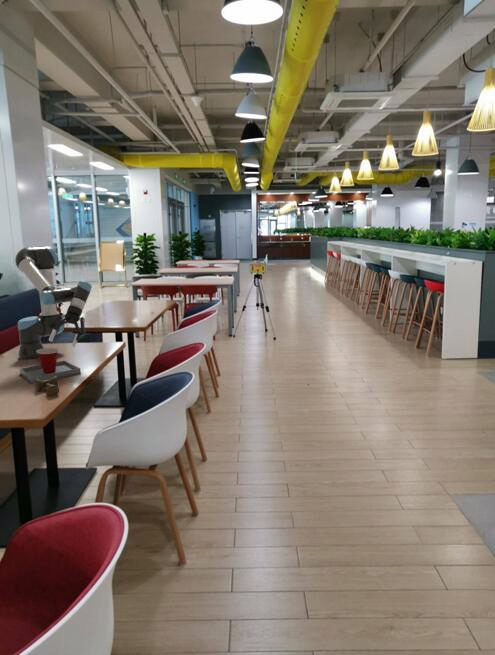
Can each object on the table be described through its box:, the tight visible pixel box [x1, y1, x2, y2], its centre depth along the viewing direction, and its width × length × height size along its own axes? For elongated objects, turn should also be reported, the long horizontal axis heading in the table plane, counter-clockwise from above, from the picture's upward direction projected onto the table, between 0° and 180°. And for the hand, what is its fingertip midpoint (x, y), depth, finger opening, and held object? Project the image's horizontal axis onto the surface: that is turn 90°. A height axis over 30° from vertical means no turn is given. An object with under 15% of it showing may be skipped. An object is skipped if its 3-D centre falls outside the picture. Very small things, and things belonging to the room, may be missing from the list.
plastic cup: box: [36, 347, 59, 374], centre depth 260 cm, size 11×11×12 cm
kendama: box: [34, 376, 60, 397], centre depth 232 cm, size 6×10×20 cm
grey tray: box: [19, 359, 82, 385], centre depth 260 cm, size 24×24×3 cm
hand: (61, 343), depth 266 cm, fingers open, 13 cm apart
